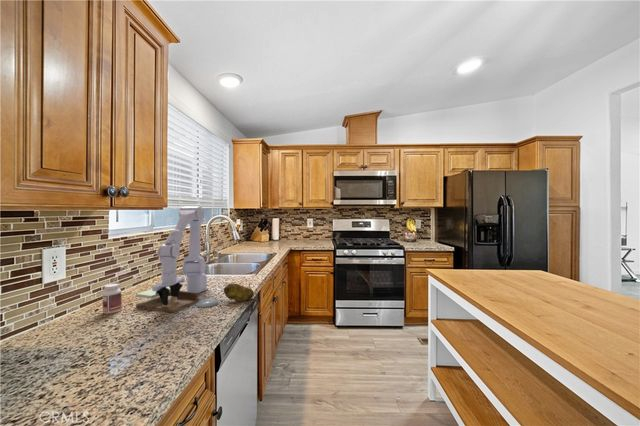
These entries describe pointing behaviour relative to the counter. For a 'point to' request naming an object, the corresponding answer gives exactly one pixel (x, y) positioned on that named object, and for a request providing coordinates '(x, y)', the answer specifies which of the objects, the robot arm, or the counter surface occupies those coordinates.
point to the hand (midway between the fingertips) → (169, 302)
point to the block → (171, 301)
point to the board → (182, 302)
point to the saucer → (206, 303)
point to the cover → (149, 294)
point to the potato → (238, 292)
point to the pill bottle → (112, 299)
